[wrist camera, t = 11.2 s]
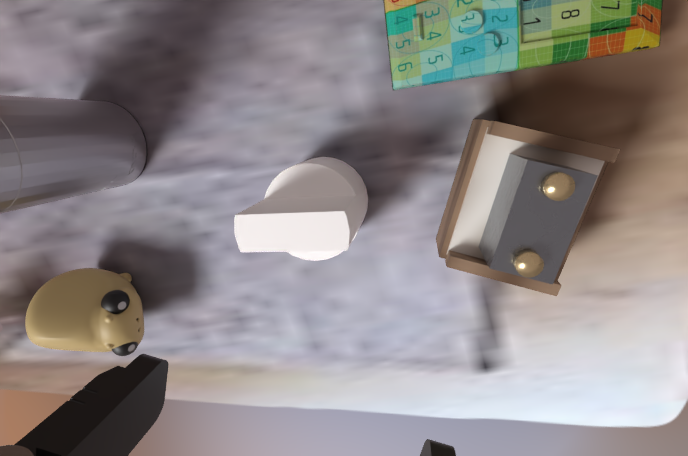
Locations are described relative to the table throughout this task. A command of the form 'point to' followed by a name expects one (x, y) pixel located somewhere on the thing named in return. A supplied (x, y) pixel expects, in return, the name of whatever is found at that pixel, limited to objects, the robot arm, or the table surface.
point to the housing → (534, 217)
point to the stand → (482, 184)
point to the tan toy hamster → (87, 313)
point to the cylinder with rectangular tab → (306, 211)
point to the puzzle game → (510, 35)
